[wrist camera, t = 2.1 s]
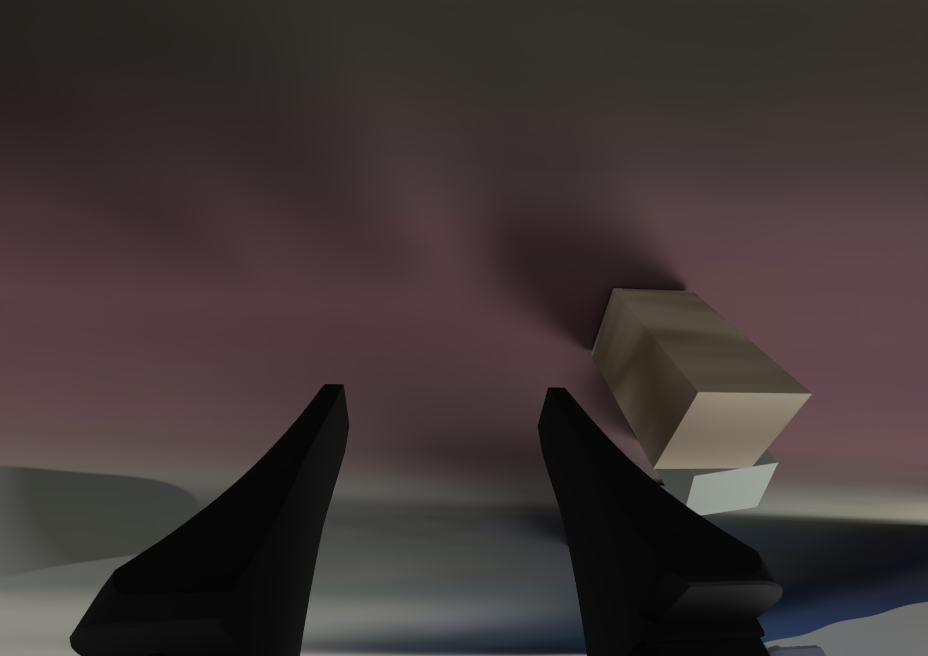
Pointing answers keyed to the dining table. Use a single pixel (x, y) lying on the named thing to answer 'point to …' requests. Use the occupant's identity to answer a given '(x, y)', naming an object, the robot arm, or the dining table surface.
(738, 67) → the dining table surface
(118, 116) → the dining table surface
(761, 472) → the sage block
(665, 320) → the maple block
